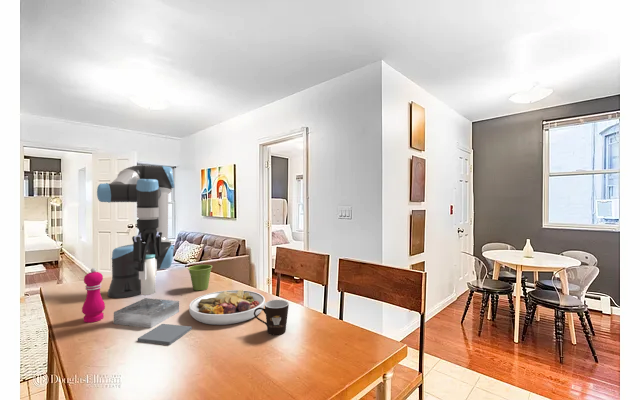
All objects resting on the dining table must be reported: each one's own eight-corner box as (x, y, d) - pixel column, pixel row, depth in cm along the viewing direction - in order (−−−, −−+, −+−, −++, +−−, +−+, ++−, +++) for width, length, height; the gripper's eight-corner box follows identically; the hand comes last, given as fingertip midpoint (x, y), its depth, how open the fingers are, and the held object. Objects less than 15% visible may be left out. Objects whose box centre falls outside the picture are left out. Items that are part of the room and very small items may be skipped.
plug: (147, 290, 127) (147, 253, 126) (158, 291, 126) (158, 254, 125) (137, 294, 122) (137, 256, 121) (149, 295, 121) (148, 257, 120)
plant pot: (195, 285, 168) (195, 264, 168) (216, 286, 166) (216, 265, 166) (182, 291, 156) (183, 269, 156) (205, 293, 154) (205, 270, 154)
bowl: (176, 313, 129) (176, 294, 129) (239, 296, 151) (239, 280, 151) (212, 336, 109) (212, 313, 109) (279, 312, 131) (279, 294, 131)
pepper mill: (93, 324, 117) (92, 270, 117) (77, 322, 119) (76, 269, 118) (109, 316, 124) (109, 266, 124) (94, 315, 126) (94, 265, 125)
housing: (145, 308, 133) (145, 298, 133) (179, 311, 130) (179, 300, 130) (113, 324, 117) (113, 312, 117) (151, 327, 114) (151, 315, 114)
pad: (162, 326, 116) (162, 323, 116) (191, 329, 113) (191, 326, 113) (137, 341, 104) (137, 338, 104) (169, 344, 102) (169, 341, 102)
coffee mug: (292, 328, 115) (292, 301, 115) (282, 338, 107) (282, 309, 107) (264, 323, 119) (264, 297, 119) (252, 333, 111) (252, 305, 110)
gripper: (155, 216, 132) (155, 270, 133) (120, 220, 115) (121, 283, 116) (171, 216, 131) (171, 272, 132) (138, 220, 113) (139, 284, 114)
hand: (148, 277), depth 124 cm, fingers closed on plug, 5 cm apart
